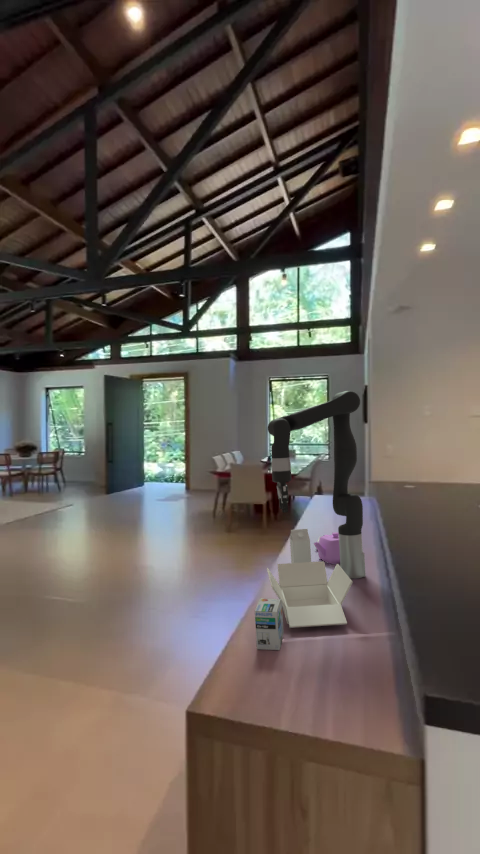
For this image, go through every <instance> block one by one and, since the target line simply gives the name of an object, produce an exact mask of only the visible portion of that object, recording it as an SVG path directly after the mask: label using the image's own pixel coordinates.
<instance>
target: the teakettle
mask: <svg viewBox="0 0 480 854" xmlns="http://www.w3.org/2000/svg"><path fill="white" fill-rule="evenodd" d="M319 537H320V536H319ZM313 545H314V547H315V546H316V547H315V548H316V549H317V552H318V558H319V560H320V559H322V560H323V561H325V563H327V562H328V563H327V564H329V563H331V564H330V565H337V564H336V563H338V564H340V550H339V533H338V531H337V532H332V533H331V534H323V535H322V537H320V539H319V542H317V541H316V542H314V543H313ZM322 560H321V561H322Z"/></svg>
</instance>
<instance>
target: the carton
mask: <svg viewBox="0 0 480 854" xmlns="http://www.w3.org/2000/svg"><path fill="white" fill-rule="evenodd" d="M325 563H326V562H324V561H322V560H321V561H311V562H303V563H291V562H289V563H277V573H278V574H277V575H278V580H277V579H276V578H275V577H274V575H273V573H272V572H271V570H270V569H269V567H267V568H266V571H267V574H268V578H269V582H270V587H271V589H272V590H273V592H274V593H275V595H276V597H277V599H282V612H283V615H284V618H285V620H286V624H288V626H289V628H293V629H294V628H308V627H321V626H324V627H325V626H326V627H327V626H340V625H341V626H342V625H348V621H347V618H346V615H345V613H344V610H343V607H342V605H343V603H344V601H345V599H346V597H347V595H348V592H349V591H350V589H351V586H352V585H353V583H354V582H353V579H351V578H349V577H348V575H347V574H346V573H345V572H344V571H343V569H342V568H341V567H340V563H338V564H335V567H334V568H333V570H332V573H331V575H330V577H329V579H328V577H327V570H326V569H327V568H326V564H325Z"/></svg>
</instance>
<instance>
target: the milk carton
mask: <svg viewBox="0 0 480 854" xmlns="http://www.w3.org/2000/svg"><path fill="white" fill-rule="evenodd" d="M309 534H310V533H309V530H308V528H300V529H297V528H296V529H290V534H289V547H290V548H289V549H290V563H303V562H312V554H311V538H310V535H309Z"/></svg>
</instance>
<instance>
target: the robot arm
mask: <svg viewBox="0 0 480 854" xmlns="http://www.w3.org/2000/svg"><path fill="white" fill-rule="evenodd" d="M360 405H361V399H360V396H359V395H358V393H356V392H355V391H352V390H345V391H342V392H341V391H340V392H336V394H335V395H334V396H333V397H332V399H331V400H328V401H326V402H323V403H320V404H317V405H313V406H309V407H306V408H303V409H300V410H297V411H294V412H293V413H290V414H288V415H285V416H280V417H277V418H275V419H272V420H270V421H269V423H268V425H267V432H268V433H269V434H270V435H271V436H273V443H272V445H271V447H270V448H271V449H270V450H271V478H272V481H271V482H274V483H277V484H276V489H277V490H276V491H277V499H278V502H279V505H278V506H279V510H281V512H282V513H283V514H285V513H288V512H289V504H288V503H289V501H290V499H289V486H288V485H287V483H289V482H291V481H292V465H291V460H290V459H291V458H290V457H291V455H290V441H291V433H292V432H293V431H297V430H301V429H304V428H306V427H309V426H311V425H314V424H317V423H319V422H321V421H324V420H326V419H329V418H332V421H333V464H334V465H333V466H334V467H333V468H334V470H333V471H334V473H333V475H334V477H333V478H334V479H333V490H332V491H333V492H332V493H333V494H332V509H333V511H334V513H335V514H336V515H338V516H340V517H341V516H342V517H345V523H344V524H340V525H339V526H338V528H337V532H338V533H339V550H340V563H339V566H340V567H341V568H342V569H343V571H344V572H345V573H346V574H347V575H348V577H349V578H350V579H351V580H353V579H361V578H365V577H366V562H365V560H366V559H365V552H364V551H363V536H362V535H363V534H362V529H363V526H364V525H363V523H364V517H363V516H364V514H363V513H364V506H363V501H362V499H361V497H360V496H359V495H357V494H354V493H353V494H352V493H348V492H349V491H348V490H349V489H348V487H349V480H350V477H351V475H352V473H353V471H354V470H355V467H356V465H357V462H358V460H357V459H358V455H357V454H358V453H357V452H358V451H357V450H358V449H357V443H356V439H355V436H354V434H353V432H352V429H351V422H350V419H351V418H350V416H351V414H353V413H354V412H356V411H357V410H358V409H359V408H360ZM291 431H292V432H291Z"/></svg>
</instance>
